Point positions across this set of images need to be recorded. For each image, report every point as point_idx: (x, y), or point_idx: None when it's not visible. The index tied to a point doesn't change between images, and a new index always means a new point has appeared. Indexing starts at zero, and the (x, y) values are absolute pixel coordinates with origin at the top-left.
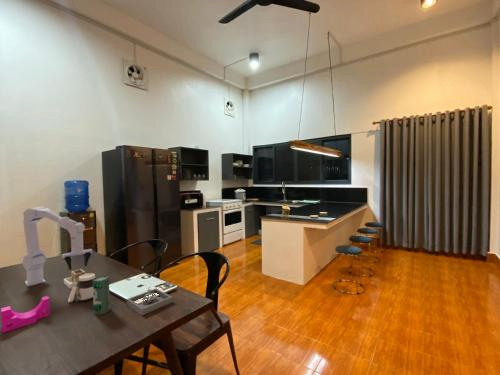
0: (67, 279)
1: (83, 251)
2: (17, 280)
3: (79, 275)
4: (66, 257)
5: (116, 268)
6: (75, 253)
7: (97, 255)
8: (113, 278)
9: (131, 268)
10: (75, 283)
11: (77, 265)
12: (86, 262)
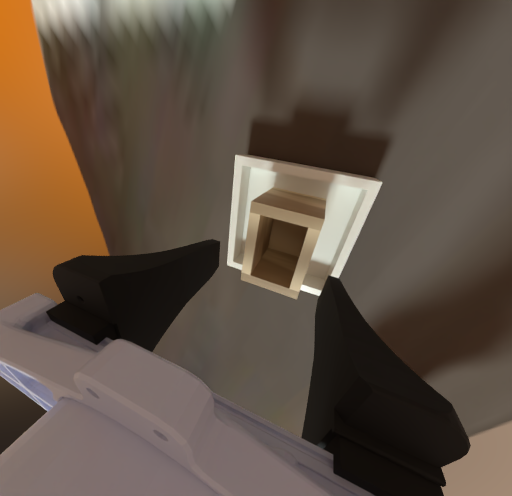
0: (315, 284)
1: (53, 392)
2: None
3: (294, 205)
4: (413, 492)
5: (128, 233)
6: (232, 493)
7: None
8: (160, 107)
9: (82, 171)
10: (342, 173)
11: (209, 370)
12: (193, 249)
